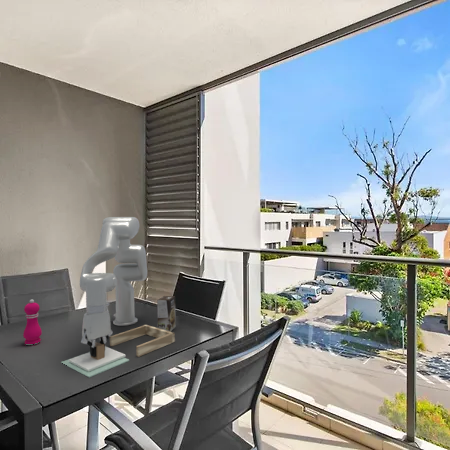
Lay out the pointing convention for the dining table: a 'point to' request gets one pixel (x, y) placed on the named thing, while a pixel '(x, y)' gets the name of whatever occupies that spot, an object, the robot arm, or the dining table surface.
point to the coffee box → (166, 313)
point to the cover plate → (96, 363)
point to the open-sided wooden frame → (160, 341)
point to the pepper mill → (32, 323)
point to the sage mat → (97, 370)
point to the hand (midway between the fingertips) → (97, 354)
